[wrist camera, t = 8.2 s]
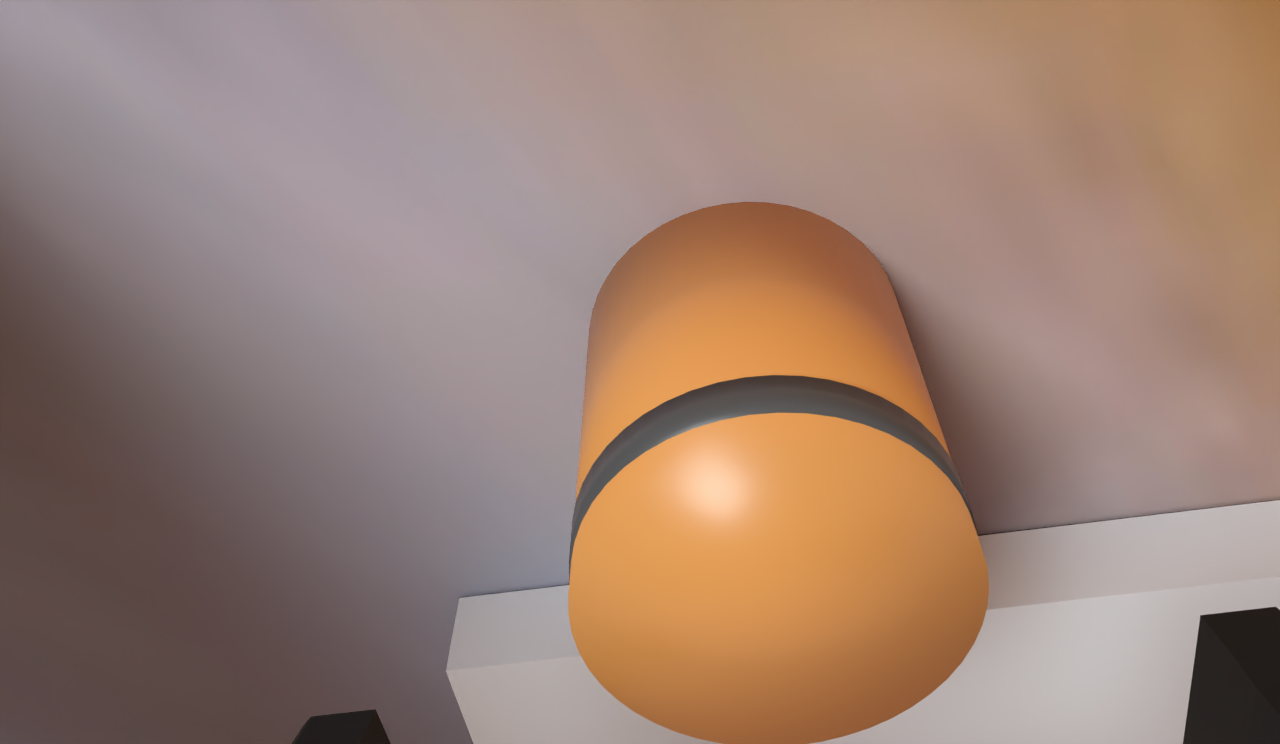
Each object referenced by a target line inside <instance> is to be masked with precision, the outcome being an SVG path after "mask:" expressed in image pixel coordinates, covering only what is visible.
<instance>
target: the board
mask: <svg viewBox="0 0 1280 744" xmlns="http://www.w3.org/2000/svg"><path fill="white" fill-rule="evenodd" d="M978 538H979V541H980V544H981V547H982V550H983V554H984V557H985V561H986V564H987V569H988V580H989V595H988V606H987V610H986V614H985V617H984V621H983V625H982V627H981V630H980V632H979V634H978V636H977V638H976V641H975V643H974V645H973V646H972V648H971V649H970V651H969V652H968V654H967V655H966V657H965V659H964V660H963V662H962V663H961V664H960V665H959V666H958V667H957V669H956V670H955V671H954V672H953V673H952V674H951V675H950V677H949V678H948V679H947V680H946V681H945V682H943V683H942V684H941V685H940V686H939V687H938V688H937V689H936V690H934V691H933V692H932V693H931V694H930V695H928V696H927V697H925V698H924V699H923V700H921V701H920V702H918V703H917V704H916V705H914V706H913V707H911V708H909V709H908V710H906V711H904V712H902V713H900V714H899V715H897V716H895V717H893V718H891V719H889V720H887V721H885V722H882V723H880V724H878V725H875V726H873V727H871V728H868V729H865V730H862V731H859V732H856V733H853V734H850V735H847V736H844V737H840V738H835V739H831V740H827V741H823V742H817V743H810V744H1183V739H1184V732H1185V725H1186V717H1187V710H1188V703H1189V695H1190V688H1191V681H1192V673H1193V666H1194V659H1195V652H1196V644H1197V637H1198V630H1199V622H1200V615H1207V614H1216V613H1225V612H1233V611H1242V610H1251V609H1260V608H1268V607H1277V608H1278V609H1279V610H1280V500H1276V501H1268V502H1259V503H1251V504H1243V505H1234V506H1226V507H1217V508H1209V509H1201V510H1192V511H1184V512H1176V513H1167V514H1159V515H1150V516H1142V517H1134V518H1125V519H1117V520H1109V521H1100V522H1092V523H1083V524H1075V525H1067V526H1058V527H1050V528H1042V529H1033V530H1025V531H1016V532H1008V533H1000V534H991V535H983V536H978ZM568 594H569V585H564V586H556V587H547V588H539V589H531V590H522V591H514V592H506V593H497V594H489V595H480V596H472V597H464V598H459V602H458V607H457V613H456V618H455V624H454V629H453V635H452V640H451V645H450V651H449V656H448V662H447V667H446V673H447V676H448V678H449V681H450V684H451V686H452V689H453V691H454V694H455V697H456V699H457V702H458V705H459V707H460V710H461V713H462V715H463V718H464V720H465V723H466V726H467V728H468V731H469V734H470V736H471V739H472V742H473V744H722V743H717V742H712V741H707V740H702V739H697V738H694V737H691V736H688V735H684V734H681V733H678V732H675V731H672V730H670V729H668V728H665V727H663V726H660V725H658V724H656V723H653V722H652V721H650V720H648V719H646V718H644V717H643V716H641V715H639V714H637V713H635V712H634V711H632V710H631V709H630V708H628V707H627V706H625V705H624V704H623V703H621V702H620V701H618V700H617V699H616V698H615V697H614V696H613V695H612V694H611V693H609V692H608V691H607V690H606V689H605V688H604V687H603V686H602V685H601V684H600V683H599V681H598V680H597V679H596V678H595V676H594V675H593V674H592V673H591V672H590V670H589V669H588V667H587V665H586V664H585V662H584V660H583V659H582V657H581V655H580V653H579V651H578V649H577V646H576V643H575V641H574V638H573V635H572V631H571V626H570V621H569V615H568Z"/></svg>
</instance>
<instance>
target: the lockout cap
mask: <svg viewBox="0 0 1280 744" xmlns="http://www.w3.org/2000/svg"><path fill="white" fill-rule="evenodd" d="M988 595H989V580H988V569H987V564H986V561H985V557H984V554H983V550H982V547H981V544H980V541H979V538H978V532H977V529H976V525H975V522H974V518H973V515H972V511H971V509H970V506H969V503H968V500H967V497H966V494H965V491H964V488H963V485H962V482H961V480H960V477H959V474H958V472H957V470H956V468H955V466H954V464H953V462H952V459H951V456H950V454H949V451H948V448H947V445H946V442H945V439H944V436H943V433H942V430H941V427H940V424H939V421H938V419H937V416H936V413H935V410H934V407H933V404H932V401H931V398H930V395H929V392H928V389H927V386H926V383H925V381H924V378H923V375H922V372H921V369H920V366H919V363H918V360H917V357H916V354H915V351H914V348H913V346H912V343H911V340H910V337H909V334H908V331H907V328H906V325H905V322H904V319H903V316H902V313H901V310H900V308H899V305H898V302H897V299H896V296H895V293H894V290H893V287H892V285H891V283H890V281H889V279H888V277H887V275H886V273H885V271H884V269H883V268H882V266H881V265H880V263H879V262H878V261H877V259H876V258H875V256H874V255H873V254H872V253H871V252H870V251H869V250H868V249H867V248H866V247H865V245H864V244H863V243H862V242H861V241H859V240H858V239H857V238H856V237H854V236H853V235H852V234H851V233H849V232H848V231H847V230H845V229H844V228H842V227H840V226H839V225H837V224H835V223H834V222H832V221H830V220H828V219H826V218H824V217H821V216H819V215H817V214H814V213H812V212H809V211H806V210H802V209H799V208H795V207H792V206H787V205H780V204H774V203H764V202H740V203H729V204H721V205H717V206H712V207H707V208H703V209H700V210H697V211H694V212H691V213H688V214H685V215H682V216H680V217H678V218H676V219H674V220H671V221H669V222H667V223H665V224H663V225H662V226H660V227H658V228H657V229H655V230H654V231H652V232H651V233H649V234H647V235H646V236H645V237H643V238H642V239H641V240H640V241H639V242H637V243H636V244H635V245H634V246H633V247H631V248H630V249H629V250H628V251H627V253H626V254H625V255H624V256H623V257H622V258H621V259H620V260H619V261H618V262H617V263H616V265H615V266H614V268H613V269H612V271H611V272H610V274H609V275H608V277H607V278H606V280H605V282H604V284H603V286H602V288H601V290H600V292H599V294H598V296H597V299H596V302H595V305H594V308H593V311H592V316H591V322H590V328H589V340H588V352H587V365H586V378H585V391H584V403H583V416H582V429H581V442H580V454H579V467H578V480H577V492H576V503H575V509H574V515H573V521H572V532H571V544H570V557H569V594H568V615H569V621H570V626H571V631H572V635H573V638H574V641H575V643H576V646H577V649H578V651H579V653H580V655H581V657H582V659H583V660H584V662H585V664H586V665H587V667H588V669H589V670H590V672H591V673H592V674H593V675H594V676H595V678H596V679H597V680H598V681H599V683H600V684H601V685H602V686H603V687H604V688H605V689H606V690H607V691H608V692H609V693H611V694H612V695H613V696H614V697H615V698H616V699H617V700H618V701H620V702H621V703H623V704H624V705H625V706H627V707H628V708H630V709H631V710H632V711H634V712H635V713H637V714H639V715H641V716H643V717H644V718H646V719H648V720H650V721H652V722H653V723H656V724H658V725H660V726H663V727H665V728H668V729H670V730H672V731H675V732H678V733H681V734H684V735H688V736H691V737H694V738H697V739H702V740H707V741H712V742H717V743H722V744H810V743H817V742H823V741H827V740H831V739H835V738H840V737H844V736H847V735H850V734H853V733H856V732H859V731H862V730H865V729H868V728H871V727H873V726H875V725H878V724H880V723H882V722H885V721H887V720H889V719H891V718H893V717H895V716H897V715H899V714H900V713H902V712H904V711H906V710H908V709H909V708H911V707H913V706H914V705H916V704H917V703H918V702H920V701H921V700H923V699H924V698H925V697H927V696H928V695H930V694H931V693H932V692H933V691H934V690H936V689H937V688H938V687H939V686H940V685H941V684H942V683H943V682H945V681H946V680H947V679H948V678H949V677H950V675H951V674H952V673H953V672H954V671H955V670H956V669H957V667H958V666H959V665H960V664H961V663H962V662H963V660H964V659H965V657H966V655H967V654H968V652H969V651H970V649H971V648H972V646H973V645H974V643H975V641H976V638H977V636H978V634H979V632H980V630H981V627H982V625H983V621H984V617H985V614H986V610H987V606H988Z"/></svg>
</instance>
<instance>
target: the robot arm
mask: <svg viewBox="0 0 1280 744" xmlns="http://www.w3.org/2000/svg"><path fill="white" fill-rule="evenodd" d="M292 744H390V741H389V739H388V737H387V735H386V732H385V730H384V728H383V725H382V723H381V721H380V719H379V716H378V714H377V712H376V710H366V711H357V712H349V713H340V714H331V715H322V716H314V717H310V718H309V720H308V721H307V722H306V723H305V725H304V726H303V727H302V729H301V730H300V732H299V733H298V735H297V737H296V738H295V740H294V741H293V743H292ZM1183 744H1280V610H1279V609H1278V608H1277V607H1268V608H1260V609H1251V610H1242V611H1233V612H1225V613H1216V614H1207V615H1200V622H1199V630H1198V637H1197V644H1196V652H1195V659H1194V666H1193V673H1192V681H1191V688H1190V695H1189V703H1188V710H1187V717H1186V725H1185V732H1184V739H1183Z"/></svg>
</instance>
